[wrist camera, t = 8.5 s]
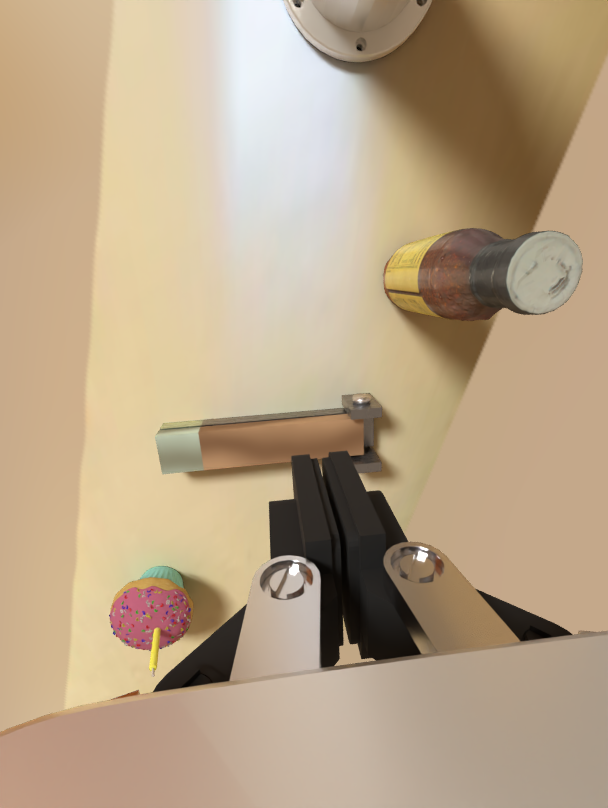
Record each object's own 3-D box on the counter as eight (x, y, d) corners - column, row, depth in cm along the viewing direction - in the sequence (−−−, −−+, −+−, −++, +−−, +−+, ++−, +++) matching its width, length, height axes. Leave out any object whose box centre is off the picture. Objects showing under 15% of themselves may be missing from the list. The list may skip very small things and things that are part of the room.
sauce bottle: (449, 295, 40) (616, 321, 21) (389, 319, 40) (503, 366, 21) (432, 227, 37) (602, 189, 19) (369, 253, 38) (476, 241, 19)
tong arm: (158, 430, 39) (155, 436, 38) (359, 412, 41) (363, 417, 39) (165, 466, 40) (162, 474, 39) (360, 448, 42) (363, 454, 41)
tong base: (160, 404, 40) (148, 421, 36) (370, 387, 42) (382, 401, 38) (172, 475, 43) (163, 498, 39) (369, 456, 45) (381, 476, 40)
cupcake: (185, 545, 46) (160, 635, 35) (208, 600, 49) (192, 701, 38) (112, 564, 46) (63, 661, 35) (140, 618, 49) (103, 725, 37)
